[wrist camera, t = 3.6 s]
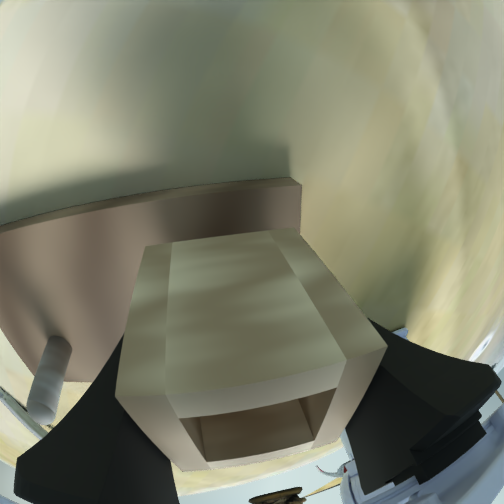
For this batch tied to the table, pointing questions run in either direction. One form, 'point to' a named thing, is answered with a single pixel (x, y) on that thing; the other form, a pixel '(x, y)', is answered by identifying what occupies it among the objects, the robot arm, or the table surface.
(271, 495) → the owl figurine
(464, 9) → the table surface
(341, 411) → the hollow square tube
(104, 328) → the brown board with peg
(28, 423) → the caliper
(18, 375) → the table surface
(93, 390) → the robot arm
